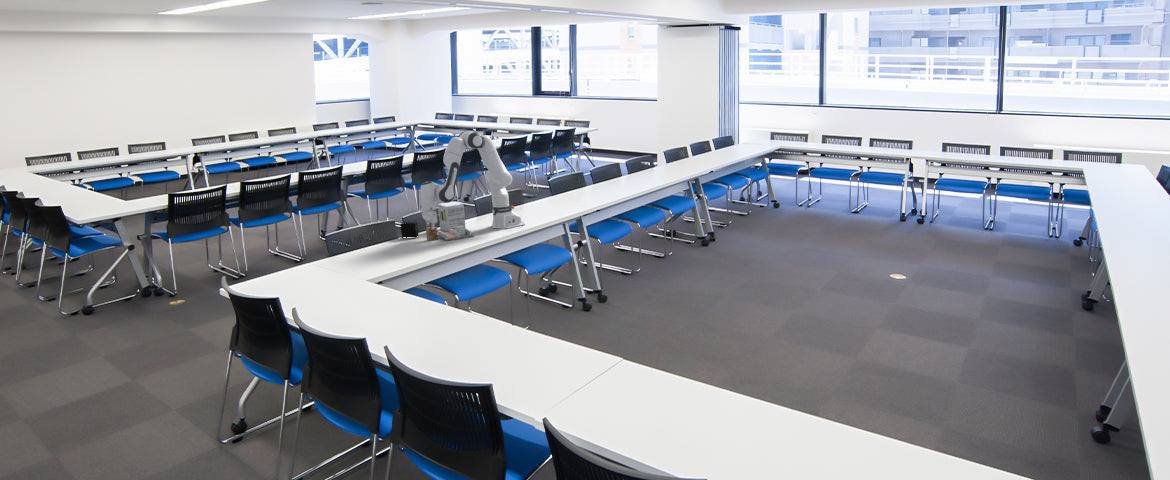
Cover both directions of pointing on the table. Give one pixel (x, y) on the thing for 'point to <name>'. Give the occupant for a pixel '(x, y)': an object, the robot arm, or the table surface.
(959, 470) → the table surface
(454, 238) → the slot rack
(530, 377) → the table surface
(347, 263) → the table surface
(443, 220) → the supplement box
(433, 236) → the walnut plug
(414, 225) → the electronic device
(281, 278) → the table surface
